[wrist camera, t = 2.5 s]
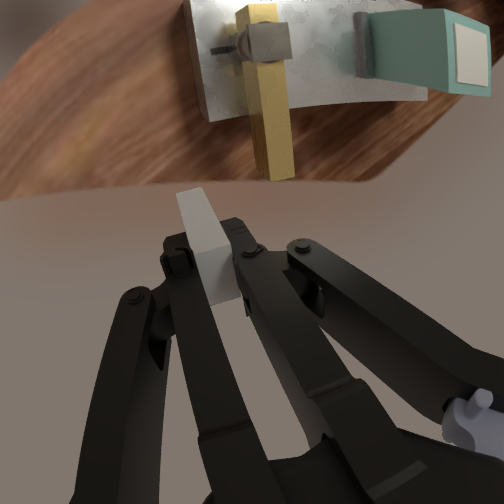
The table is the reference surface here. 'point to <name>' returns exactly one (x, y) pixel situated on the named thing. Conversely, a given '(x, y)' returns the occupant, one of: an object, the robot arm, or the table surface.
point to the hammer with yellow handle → (266, 86)
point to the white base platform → (294, 54)
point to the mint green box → (432, 50)
